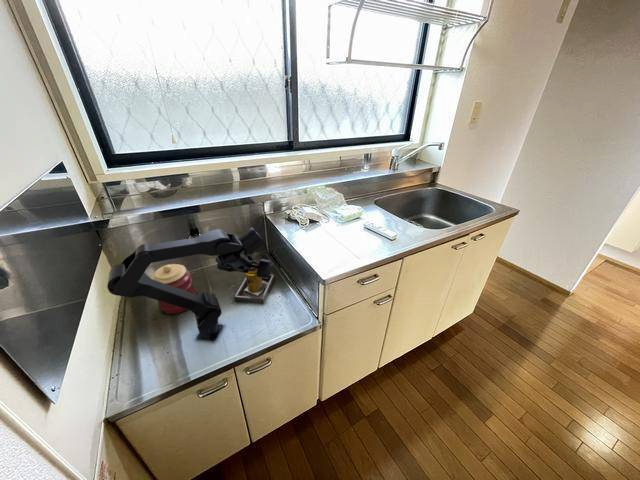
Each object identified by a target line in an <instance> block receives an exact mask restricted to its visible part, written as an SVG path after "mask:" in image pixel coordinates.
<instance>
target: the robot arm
mask: <svg viewBox="0 0 640 480" xmlns="http://www.w3.org/2000/svg"><path fill="white" fill-rule="evenodd" d="M264 245H266V242H265V241H264V239H263V238H262V237H261V235H260V234H259V233H258V232H257V231H256V230H255V229H254V228H253V227H250V228H249V229H248V230H247V231H246V232H244V233H243V234H242V235H241V236H239V237H238V235H237V234H236V233H229V232H226V231H225V230H223V229H220V228H217V229H213V230H209V231H206V232H204V233H202V234H200V235H198V236H195V237H191V238H185V239H178V240H170V241H165V242H158V243H152V244H147V243H142V244H140V245H139V246H137V247H136V248H135V250H133V252H131V253H130V254H128V255H127V256H125V258H123V260H122V261H120V263H118V264H115V265H113V266H112V267H111V268H110V270H109V273H108V279H107V286H106V287H107V290H108V293H110V294H111V295H114V296H117V297H124V298H137V297H145V298H148V299H151V300H155V301H157V302H158V301H162V302H165V303H168V304H171V305H175V306H178V307H181V308H184V309H187V310H188V311H190V312H192V313H193V314H194V317H195V321H196V327H197V330H198V335H196V339H197V340H200V341H201V340H202V341H210V342H214V341H216V340H217V338H218V337H219V335H220V333H221V331H222V330H223V327H224V325H223V324H219V318H220V317H221V315H222V309H221V305H220V303H219V299H218V297H217V296H216V294H215V293H211V292H208V291H206V290H203V292H202V293H200V294H196V295H195V294H192V293H189V292H187V291H184V290H181V289H178V288H175V287H173V286H170V285H167V284H164V283H161V282H159V281H156V280H153V279H151V277H149V275H148V274H147V273H145V272H146V270H147V269H148V268H149V266H150V265H152V264H153V263H158V262H163V261H168V260H169V261H170V260H174V259H175V260H176V259H179V258H181V259H182V258H185V257H190V256H196V255H197V256H198V255H205V256H211V257H214V256H215V258H214V259H215V260H214V261H215V262H216V268H217V269H218V270H219V271H224V272H228V273H231V272H238V273H242V274H243V273H244V274H245V273H248V272H249V270H250V269H251V268H254V269H257V272H256V276H257V277H259V278H264V279H263V280H269V279H268V278H269V277H270V274H271V273H272V269H273V266H274V262H273V261H272V260H271V259H264V258H261V259H260V260H259V262H258V261H254V260H255V256H254V255H255V252H256V251H258V250H260V249H261V248H262V247H264ZM253 264H254V265H253ZM256 264H257V265H256ZM258 265H259V266H258Z"/></svg>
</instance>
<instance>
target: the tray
mask: <svg viewBox="0 0 640 480" xmlns="http://www.w3.org/2000/svg"><path fill="white" fill-rule="evenodd" d="M262 280H265V279H264V278H262ZM267 280H268V285H267V287H266V288H265V289H264V292H263V294H262V296H261V297H254V296H247V295H245V296H244V295H242V293H243V291H244V289H246V287H247V280H246V277H245V278H244V279H243V281H242V283H241V285H240V286H239V288H238V289H237V291H236V293H235V294H234V301H235V302H241V303H243V302H244V303H251V304H261V305H262V304H263V305H264V303H265V302H266V300H267V297H268V294H269V292H270V291H271V287H272V285H273V283H274V281H275V274H271V273H270V277H269V278H268V279H267Z"/></svg>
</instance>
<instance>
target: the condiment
mask: <svg viewBox="0 0 640 480" xmlns="http://www.w3.org/2000/svg"><path fill="white" fill-rule="evenodd" d="M253 265H254V264H253ZM256 265H257V264H256ZM258 266H259V265H258ZM256 272H257V269H254V268H251V269H250V270H249V272H248V273H244V275H245V278H246V280H247V284H246V287H245V288H244V289H243V291H245V292H246V293H250V294H252V295H255V296H257V297H258V296H259V295H260V294H261V293H262V292H263V291H265V290H266V288H267V285H268V283H269V281H265V280H263V279H262V278H259V277H257V276H256Z"/></svg>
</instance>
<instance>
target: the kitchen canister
mask: <svg viewBox="0 0 640 480" xmlns="http://www.w3.org/2000/svg"><path fill="white" fill-rule="evenodd" d="M150 278H151V279H153V280H156V281H159V282H161V283H164V284H167V285H170V286H173V287H175V288H178V289H181V290H184V291H187V292H189V293H192V294H195V295H197V292H196V290H195V287H194V284H193V279H192V277H191V273H190V270H188V269H187V268H186V266H185V265H183V264H180V263H179V264H178V263H169V264H165V265H163V266H161V267H159V268H158V269H156V270H155V271H154V272H153V273H152V275H151V277H150ZM157 303H158V306H159V308H160V310H161V311H162V312H163V313H165V314H170V315H171V314H172V315H173V314H175V315H176V314H179V313H182V312H184V311H186V310H188V309H184V308H181V307H178V306H175V305H171V304H168V303H165V302H162V301H158V300H157Z"/></svg>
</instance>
